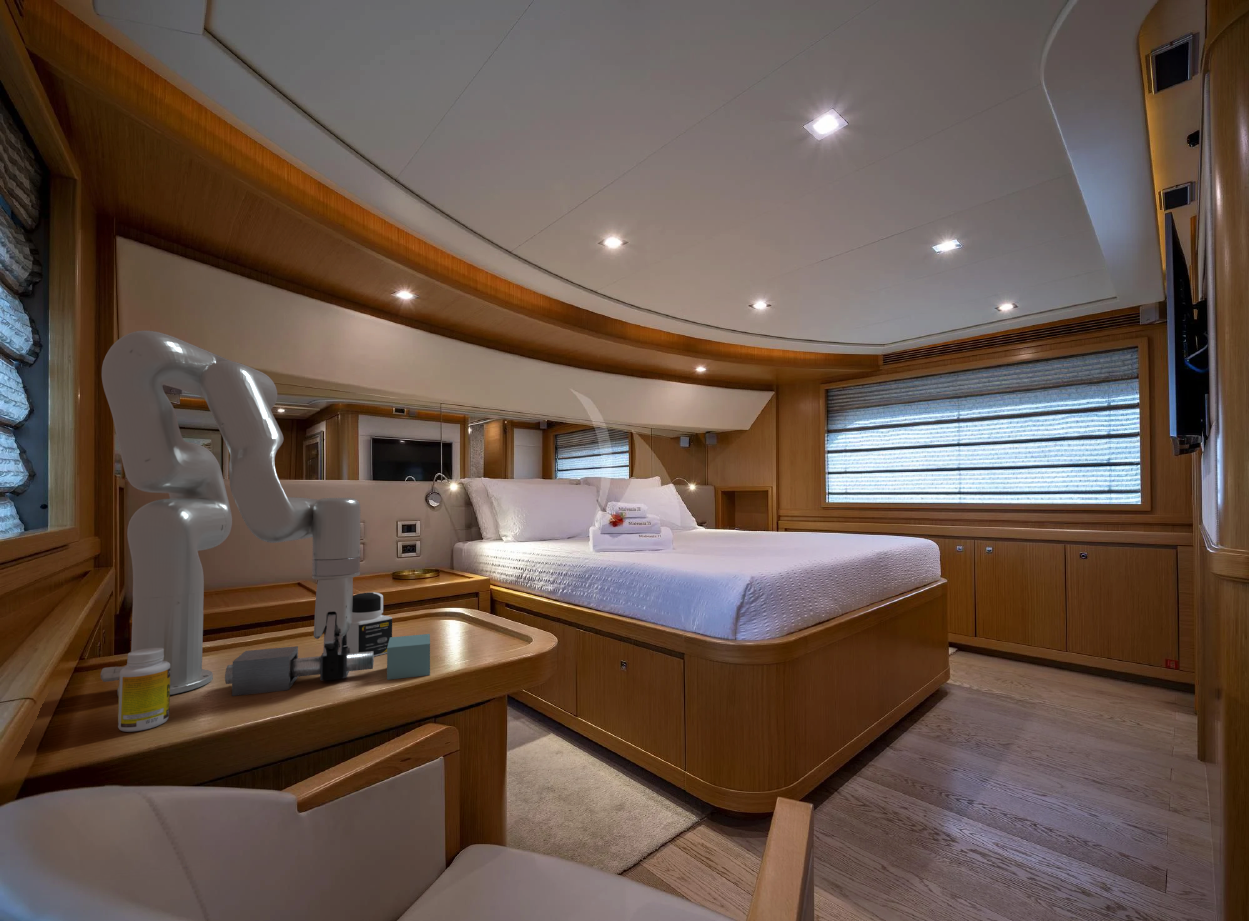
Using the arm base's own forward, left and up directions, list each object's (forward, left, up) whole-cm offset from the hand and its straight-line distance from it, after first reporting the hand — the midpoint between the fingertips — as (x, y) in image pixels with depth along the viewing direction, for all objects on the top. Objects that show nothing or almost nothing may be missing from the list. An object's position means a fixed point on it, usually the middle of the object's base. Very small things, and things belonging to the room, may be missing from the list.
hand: (335, 673), depth 101 cm
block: (+12, 0, -1) cm, 12 cm away
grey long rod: (-5, 0, 0) cm, 5 cm away
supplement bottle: (-22, -13, -1) cm, 26 cm away
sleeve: (-11, 0, -1) cm, 11 cm away
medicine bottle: (+4, +16, -1) cm, 16 cm away
